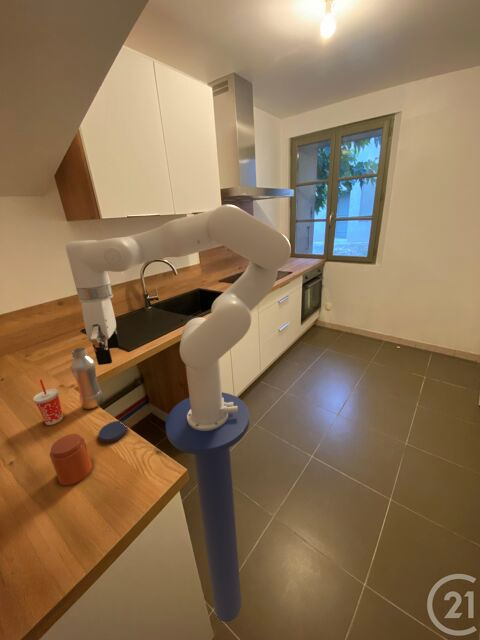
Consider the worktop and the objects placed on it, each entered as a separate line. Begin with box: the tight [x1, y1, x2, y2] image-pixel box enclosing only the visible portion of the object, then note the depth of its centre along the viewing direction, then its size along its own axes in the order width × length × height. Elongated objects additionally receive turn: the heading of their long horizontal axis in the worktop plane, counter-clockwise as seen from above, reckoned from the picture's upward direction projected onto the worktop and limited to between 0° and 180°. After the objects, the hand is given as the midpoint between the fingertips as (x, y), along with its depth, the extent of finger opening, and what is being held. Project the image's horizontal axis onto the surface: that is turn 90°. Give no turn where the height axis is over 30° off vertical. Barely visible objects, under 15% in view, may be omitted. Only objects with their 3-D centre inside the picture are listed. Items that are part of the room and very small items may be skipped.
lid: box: [98, 420, 128, 444], centre depth 73 cm, size 7×7×1 cm
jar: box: [49, 433, 93, 486], centre depth 60 cm, size 7×7×9 cm
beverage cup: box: [32, 379, 64, 426], centre depth 78 cm, size 6×6×14 cm
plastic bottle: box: [70, 347, 104, 410], centre depth 83 cm, size 6×7×20 cm
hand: (110, 355), depth 70 cm, fingers open, 9 cm apart
